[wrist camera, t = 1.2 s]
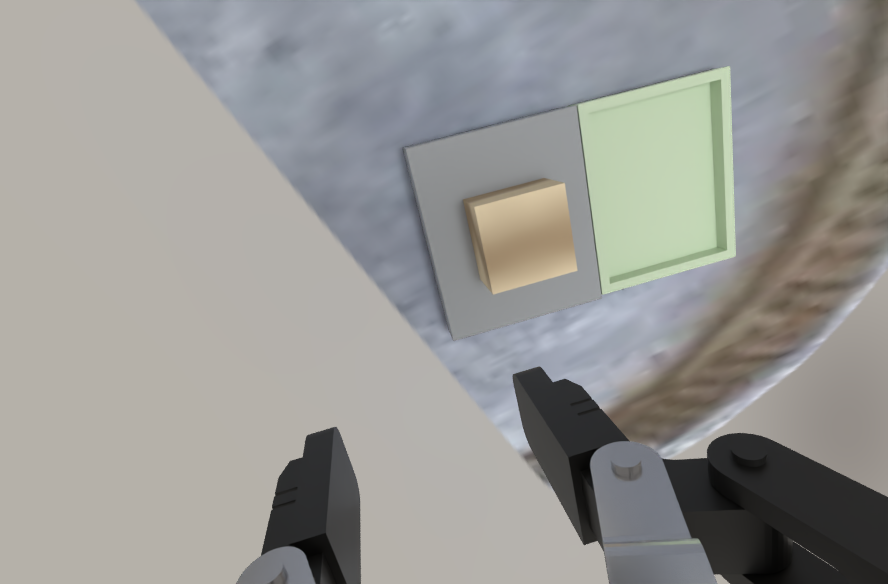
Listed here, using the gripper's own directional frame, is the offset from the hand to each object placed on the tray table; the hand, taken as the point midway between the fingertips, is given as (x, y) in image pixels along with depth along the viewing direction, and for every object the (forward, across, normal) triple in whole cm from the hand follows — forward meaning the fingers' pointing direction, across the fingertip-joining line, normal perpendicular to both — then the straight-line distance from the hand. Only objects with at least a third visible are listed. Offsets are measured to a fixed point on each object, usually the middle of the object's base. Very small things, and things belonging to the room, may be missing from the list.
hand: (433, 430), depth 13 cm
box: (+19, -18, 0) cm, 26 cm away
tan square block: (+17, -8, 0) cm, 19 cm away
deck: (+19, -8, 0) cm, 21 cm away
